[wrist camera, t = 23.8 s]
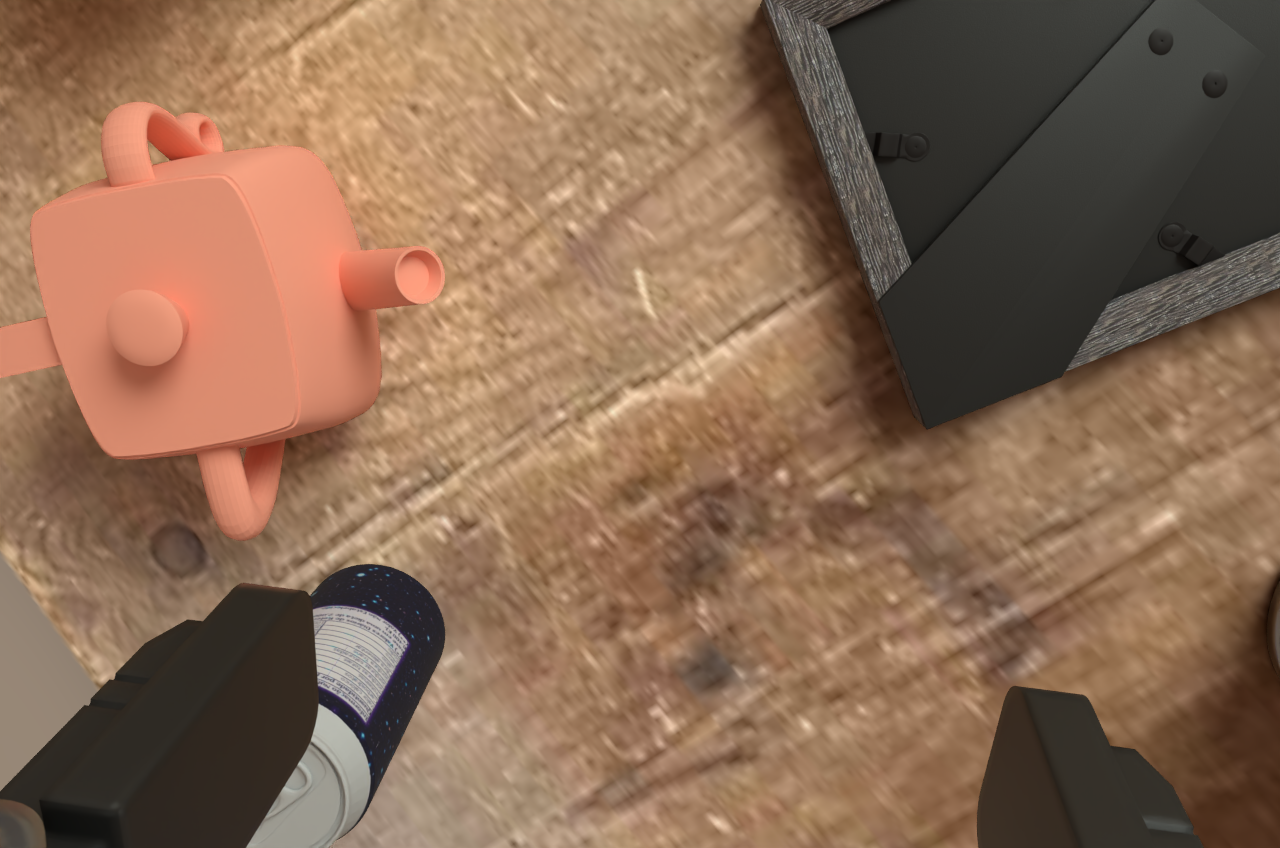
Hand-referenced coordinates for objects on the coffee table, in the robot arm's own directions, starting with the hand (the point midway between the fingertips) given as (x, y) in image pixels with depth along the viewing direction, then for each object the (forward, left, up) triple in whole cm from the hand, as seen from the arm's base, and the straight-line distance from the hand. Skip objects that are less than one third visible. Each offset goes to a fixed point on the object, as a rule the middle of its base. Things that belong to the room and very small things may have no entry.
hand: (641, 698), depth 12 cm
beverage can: (+11, +12, -28) cm, 32 cm away
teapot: (+14, -1, -28) cm, 31 cm away
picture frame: (-16, -9, -28) cm, 33 cm away
